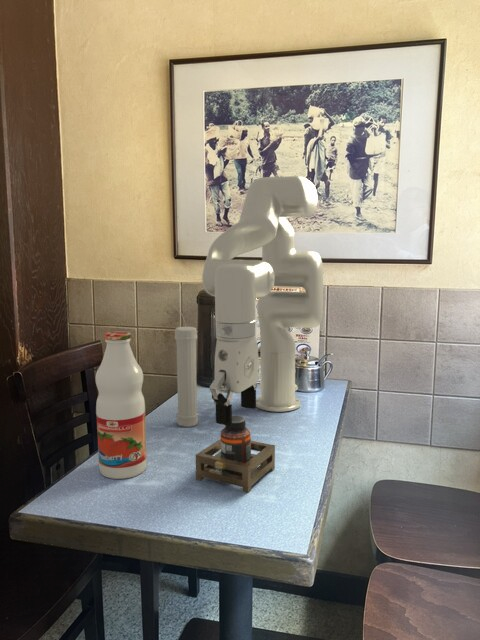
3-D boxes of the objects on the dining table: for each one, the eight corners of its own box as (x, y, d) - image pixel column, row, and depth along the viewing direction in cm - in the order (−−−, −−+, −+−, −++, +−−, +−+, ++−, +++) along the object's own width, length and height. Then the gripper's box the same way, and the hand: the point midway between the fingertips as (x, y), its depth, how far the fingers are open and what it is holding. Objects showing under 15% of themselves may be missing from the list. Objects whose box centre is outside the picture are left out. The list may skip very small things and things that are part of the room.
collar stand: (225, 457, 111) (225, 435, 111) (274, 469, 106) (274, 445, 105) (193, 481, 101) (193, 456, 100) (246, 494, 95) (245, 468, 95)
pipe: (195, 428, 129) (193, 306, 124) (170, 426, 130) (167, 306, 125) (201, 420, 134) (199, 303, 129) (177, 418, 135) (175, 303, 131)
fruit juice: (154, 462, 109) (150, 329, 105) (134, 482, 100) (129, 338, 96) (113, 457, 112) (107, 327, 107) (90, 477, 103) (82, 336, 98)
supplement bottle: (249, 466, 107) (249, 413, 105) (252, 479, 101) (252, 423, 99) (220, 467, 107) (219, 414, 105) (221, 481, 101) (221, 424, 99)
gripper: (229, 340, 90) (231, 435, 93) (273, 323, 105) (273, 405, 108) (193, 336, 94) (196, 427, 97) (240, 320, 109) (241, 399, 112)
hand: (236, 415), depth 103 cm, fingers open, 9 cm apart
